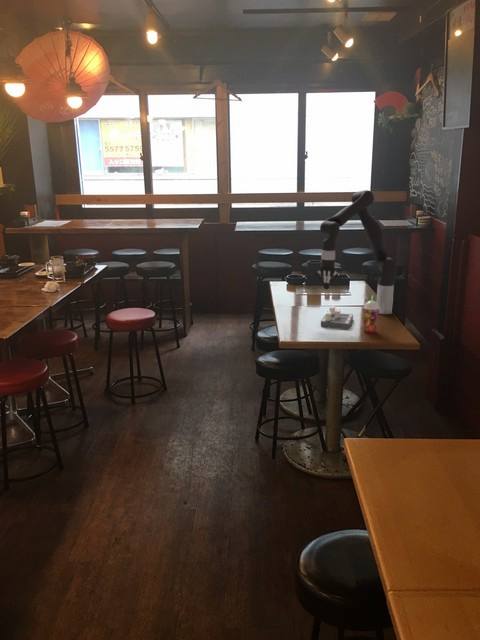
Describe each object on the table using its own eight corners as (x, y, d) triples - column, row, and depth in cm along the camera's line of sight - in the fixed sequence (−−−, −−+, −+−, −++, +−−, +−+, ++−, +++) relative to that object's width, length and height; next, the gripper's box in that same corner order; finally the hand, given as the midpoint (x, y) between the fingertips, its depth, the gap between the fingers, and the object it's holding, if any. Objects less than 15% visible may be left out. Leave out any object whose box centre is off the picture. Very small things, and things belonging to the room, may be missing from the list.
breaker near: (331, 318, 310) (331, 311, 309) (329, 321, 306) (330, 314, 305) (327, 318, 311) (327, 311, 310) (325, 320, 306) (325, 313, 305)
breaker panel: (352, 319, 321) (353, 314, 320) (348, 329, 303) (348, 323, 302) (326, 317, 325) (327, 312, 324) (320, 326, 307) (320, 321, 306)
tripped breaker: (340, 316, 315) (340, 309, 314) (338, 318, 310) (339, 311, 309) (336, 315, 316) (336, 309, 315) (334, 318, 311) (335, 311, 310)
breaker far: (334, 312, 322) (335, 306, 321) (333, 315, 318) (333, 308, 316) (330, 312, 323) (331, 305, 322) (329, 314, 318) (329, 307, 317)
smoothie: (366, 328, 304) (368, 292, 298) (380, 331, 299) (383, 295, 293) (358, 332, 298) (361, 295, 292) (373, 335, 293) (376, 298, 287)
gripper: (341, 257, 307) (339, 288, 312) (317, 256, 311) (315, 286, 316) (339, 260, 301) (337, 291, 305) (314, 258, 304) (313, 289, 309)
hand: (326, 289), depth 311 cm, fingers closed
